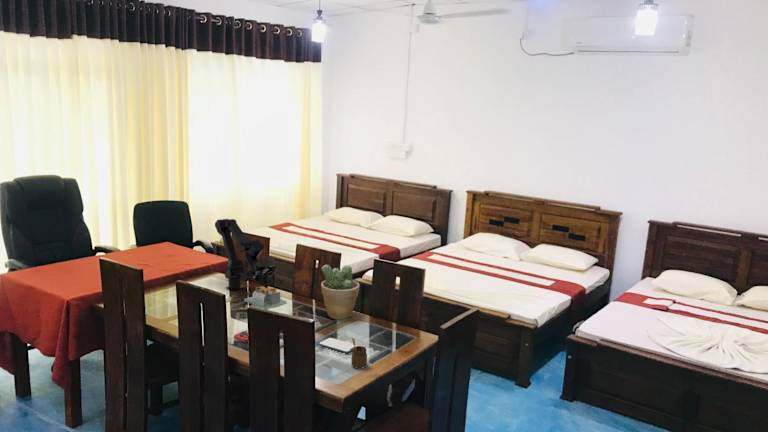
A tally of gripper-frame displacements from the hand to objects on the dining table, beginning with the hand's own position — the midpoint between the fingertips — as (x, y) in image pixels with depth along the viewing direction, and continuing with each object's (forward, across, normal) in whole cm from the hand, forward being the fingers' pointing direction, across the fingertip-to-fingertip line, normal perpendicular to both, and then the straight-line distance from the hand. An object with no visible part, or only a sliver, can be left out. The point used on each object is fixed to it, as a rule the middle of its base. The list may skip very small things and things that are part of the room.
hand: (267, 287), depth 286 cm
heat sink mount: (+5, 0, +7) cm, 8 cm away
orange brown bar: (+1, 0, +1) cm, 2 cm away
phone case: (+51, -13, -39) cm, 65 cm away
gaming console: (+27, -26, -14) cm, 40 cm away
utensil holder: (+64, -20, -52) cm, 84 cm away
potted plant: (+32, +14, -21) cm, 41 cm away
